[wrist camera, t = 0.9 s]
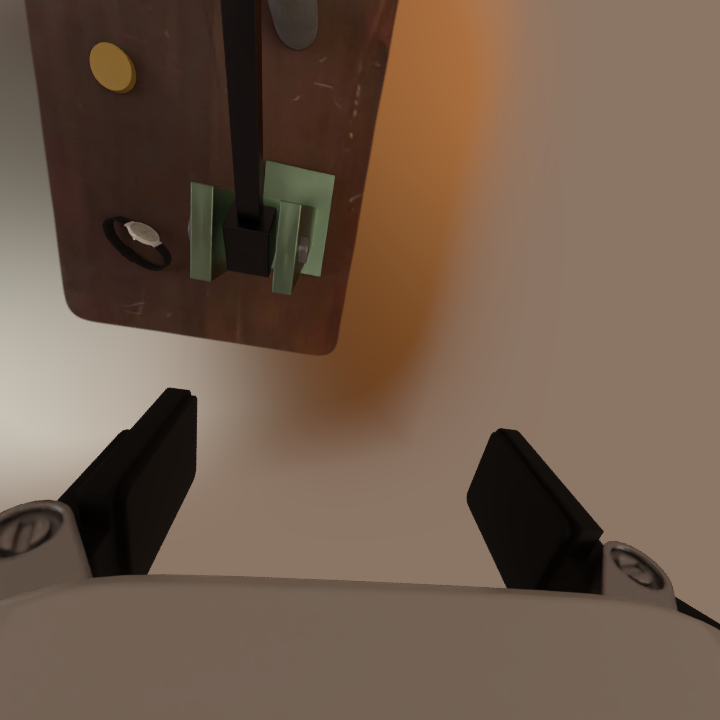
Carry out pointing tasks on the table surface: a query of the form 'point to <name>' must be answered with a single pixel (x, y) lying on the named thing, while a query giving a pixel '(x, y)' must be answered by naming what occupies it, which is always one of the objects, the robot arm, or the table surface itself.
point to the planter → (295, 21)
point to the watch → (140, 234)
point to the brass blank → (112, 67)
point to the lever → (246, 142)
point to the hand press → (293, 224)
